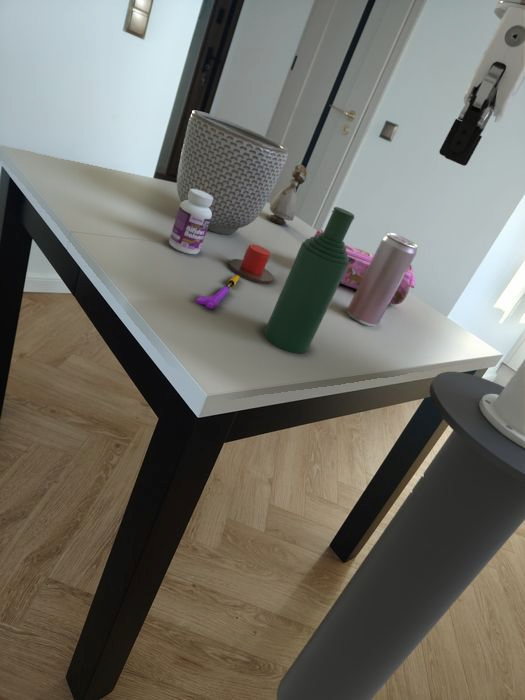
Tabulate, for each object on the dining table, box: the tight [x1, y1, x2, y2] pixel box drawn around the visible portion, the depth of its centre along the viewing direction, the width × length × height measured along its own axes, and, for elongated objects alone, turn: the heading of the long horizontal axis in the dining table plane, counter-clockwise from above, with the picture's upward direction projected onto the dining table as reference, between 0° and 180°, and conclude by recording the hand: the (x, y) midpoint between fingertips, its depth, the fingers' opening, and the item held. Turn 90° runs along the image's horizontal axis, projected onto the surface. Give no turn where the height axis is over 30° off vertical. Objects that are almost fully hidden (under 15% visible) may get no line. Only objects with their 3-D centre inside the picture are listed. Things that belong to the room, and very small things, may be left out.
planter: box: [176, 109, 290, 235], centre depth 100 cm, size 20×20×19 cm
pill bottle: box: [168, 189, 213, 255], centre depth 83 cm, size 5×5×10 cm
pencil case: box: [313, 229, 416, 306], centre depth 100 cm, size 21×9×9 cm, turn 89°
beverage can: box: [347, 231, 419, 327], centre depth 86 cm, size 6×6×15 cm
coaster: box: [229, 258, 275, 285], centre depth 87 cm, size 8×8×1 cm
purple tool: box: [196, 274, 241, 310], centre depth 75 cm, size 3×1×16 cm
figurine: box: [269, 163, 308, 226], centre depth 127 cm, size 8×7×15 cm
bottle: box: [263, 206, 355, 354], centre depth 65 cm, size 6×6×18 cm
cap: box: [241, 243, 271, 275], centre depth 87 cm, size 4×4×4 cm
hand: (452, 160), depth 64 cm, fingers open, 9 cm apart
